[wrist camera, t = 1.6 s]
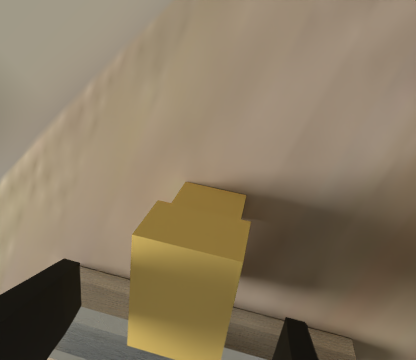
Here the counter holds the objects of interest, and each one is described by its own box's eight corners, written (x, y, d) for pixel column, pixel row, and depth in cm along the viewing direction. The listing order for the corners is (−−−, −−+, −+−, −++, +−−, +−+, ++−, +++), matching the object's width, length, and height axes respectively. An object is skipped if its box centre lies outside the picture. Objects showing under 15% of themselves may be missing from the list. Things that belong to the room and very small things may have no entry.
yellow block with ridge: (256, 191, 15) (243, 262, 10) (236, 282, 17) (217, 372, 12) (177, 174, 15) (132, 234, 11) (168, 264, 17) (127, 345, 13)
